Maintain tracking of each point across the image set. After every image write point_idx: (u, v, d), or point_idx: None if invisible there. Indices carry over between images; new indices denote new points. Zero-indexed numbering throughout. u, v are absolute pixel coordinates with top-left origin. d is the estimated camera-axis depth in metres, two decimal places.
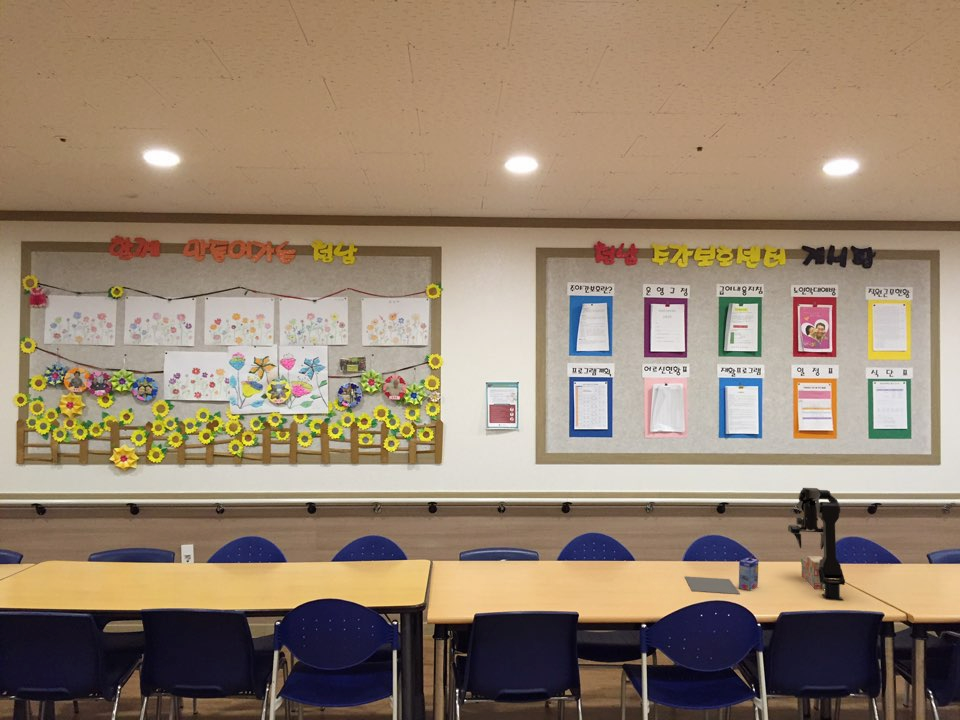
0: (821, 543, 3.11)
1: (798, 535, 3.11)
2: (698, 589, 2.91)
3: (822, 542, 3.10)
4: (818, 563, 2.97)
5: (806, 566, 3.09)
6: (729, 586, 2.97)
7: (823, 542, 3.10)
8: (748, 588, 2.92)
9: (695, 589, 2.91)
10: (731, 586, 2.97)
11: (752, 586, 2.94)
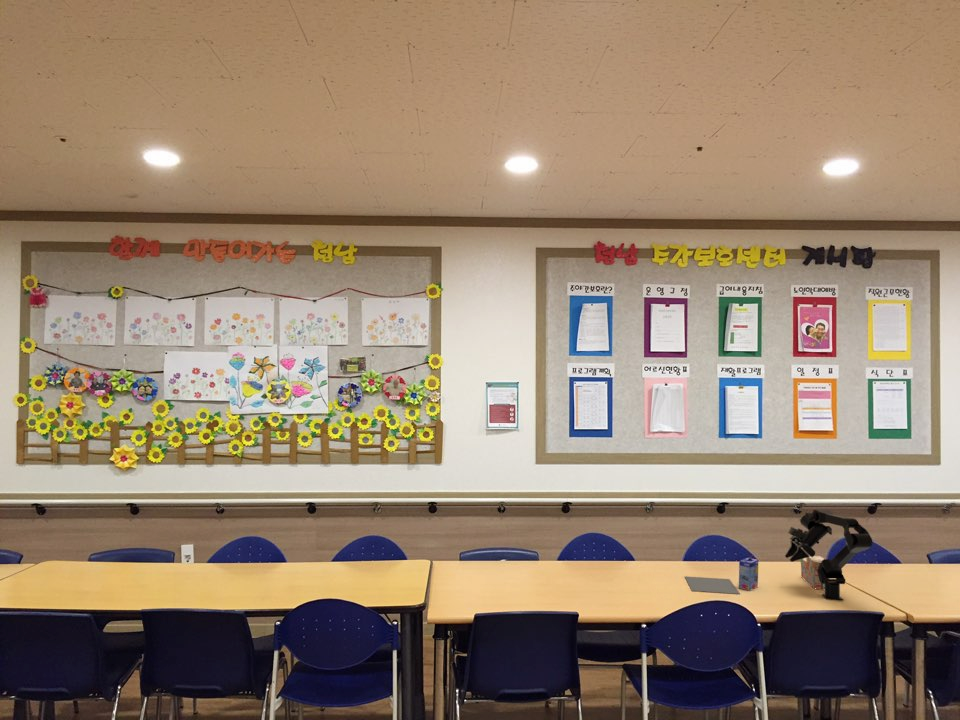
0: (790, 553, 2.98)
1: None
2: (698, 589, 2.91)
3: (793, 554, 2.98)
4: (818, 563, 2.97)
5: (806, 566, 3.09)
6: (729, 586, 2.97)
7: (794, 554, 2.98)
8: (748, 588, 2.92)
9: (695, 589, 2.91)
10: (731, 586, 2.97)
11: (752, 586, 2.94)
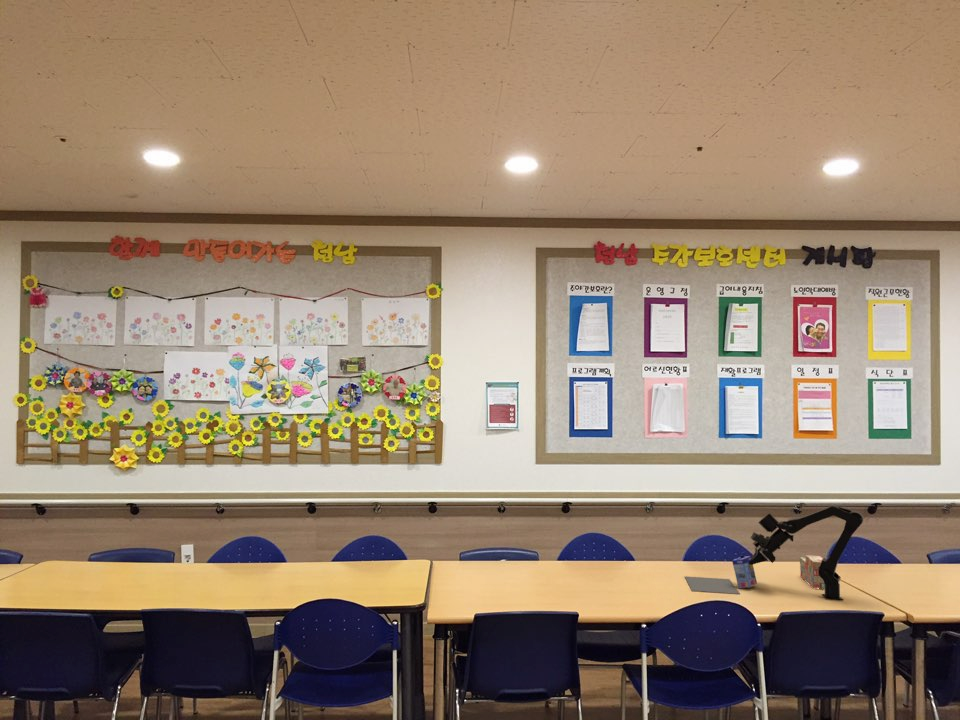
0: None
1: None
2: (698, 589, 2.91)
3: None
4: (817, 563, 2.97)
5: (805, 566, 3.09)
6: (729, 586, 2.97)
7: None
8: (747, 585, 2.93)
9: (695, 589, 2.91)
10: (731, 586, 2.97)
11: (751, 583, 2.94)
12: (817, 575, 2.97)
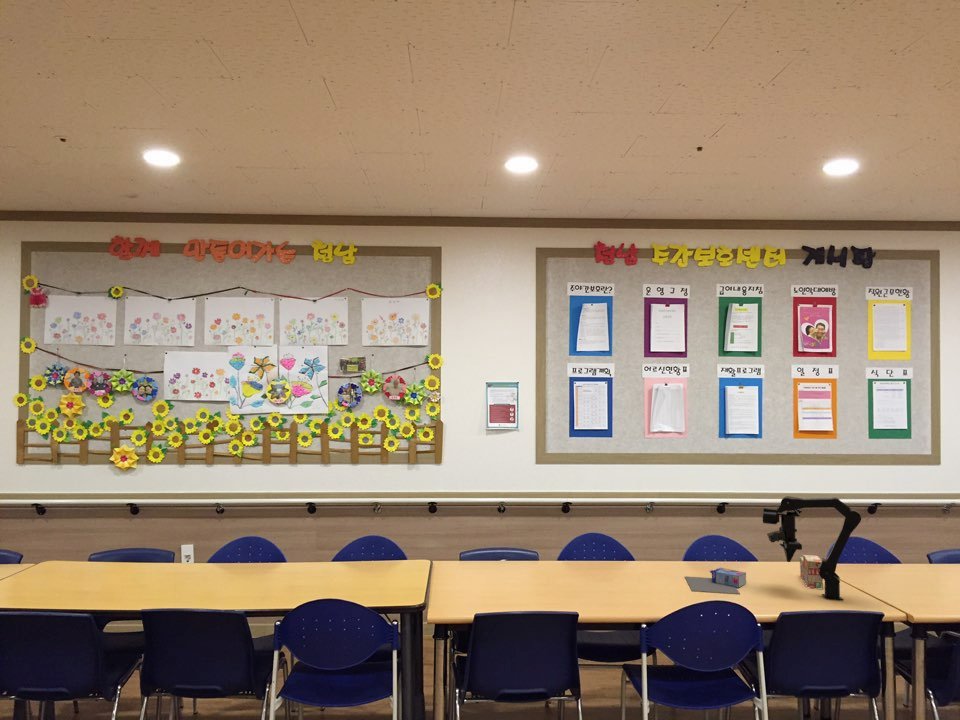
0: None
1: None
2: (698, 589, 2.91)
3: None
4: (812, 562, 2.98)
5: (803, 565, 3.10)
6: (729, 586, 2.97)
7: None
8: (736, 577, 2.96)
9: (695, 589, 2.91)
10: (731, 586, 2.97)
11: (737, 574, 2.98)
12: (811, 574, 2.98)
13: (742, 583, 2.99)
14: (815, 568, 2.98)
